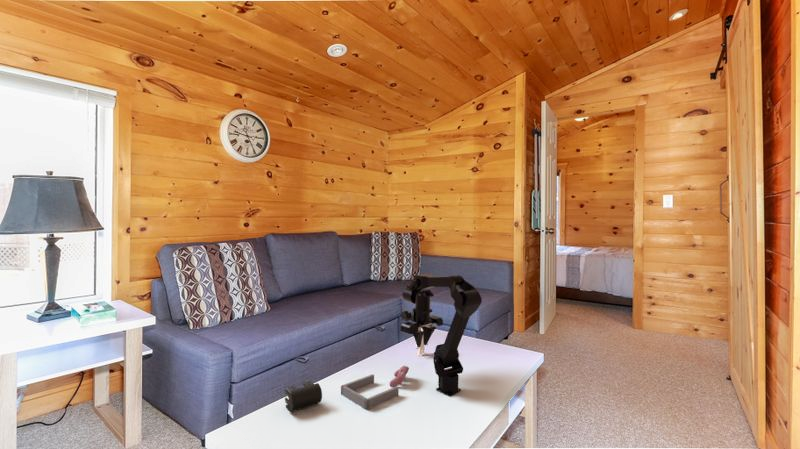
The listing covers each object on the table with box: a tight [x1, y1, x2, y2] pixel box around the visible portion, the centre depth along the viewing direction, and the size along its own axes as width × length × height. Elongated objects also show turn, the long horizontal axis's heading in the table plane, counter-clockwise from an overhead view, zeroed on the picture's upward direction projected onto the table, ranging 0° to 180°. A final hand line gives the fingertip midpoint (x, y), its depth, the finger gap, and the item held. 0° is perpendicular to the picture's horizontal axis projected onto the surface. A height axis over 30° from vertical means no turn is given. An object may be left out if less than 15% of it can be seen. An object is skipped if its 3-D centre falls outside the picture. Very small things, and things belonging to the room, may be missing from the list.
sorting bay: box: [340, 374, 400, 411], centre depth 132 cm, size 14×14×3 cm
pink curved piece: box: [389, 365, 410, 388], centre depth 142 cm, size 10×5×7 cm, turn 169°
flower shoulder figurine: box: [413, 327, 429, 357], centre depth 170 cm, size 9×4×12 cm, turn 141°
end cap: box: [284, 381, 323, 413], centre depth 123 cm, size 10×7×7 cm
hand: (421, 346), depth 149 cm, fingers open, 3 cm apart
